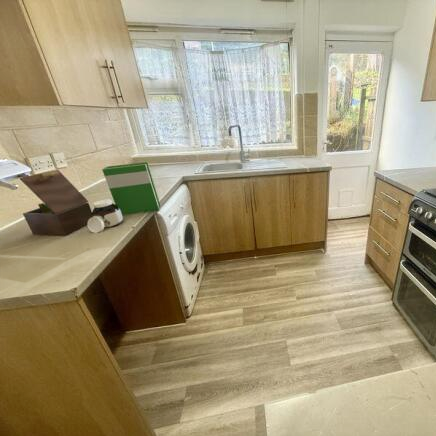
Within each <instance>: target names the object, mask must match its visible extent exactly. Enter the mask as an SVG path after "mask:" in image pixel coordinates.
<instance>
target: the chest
mask: <svg viewBox="0 0 436 436" xmlns="http://www.w3.org/2000/svg"><path fill="white" fill-rule="evenodd" d="M92 212H93V210H92V208H91V206H90V204H89V202H87V203H84V204H82V205H79V206H76V207H74V208H71V209H68V210H66V211H63V212H60V213H58V214H43V213H42V211H41V209H40V207H38V208H35V209H32V210H29V211H26V212H23V213H22V215H23V217H24V220H25V221H26V223H27V225H28V227H29V230H30V231H31V233H32V235H38V236H56V237H57V236H58V237H67V236H69V235H71V234H73V233H75V232H77V231H80V230H81V229H84V228H85V227H88V226H87V223H88V220H89V219H90V218H92V217H93V216H92Z"/></svg>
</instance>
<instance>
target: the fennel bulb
mask: <svg viewBox="0 0 436 436" xmlns="http://www.w3.org/2000/svg"><path fill="white" fill-rule="evenodd" d="M37 206H38V208H40V209H41V211H42V213H43V214H55V213H54V212H53V211H52V210H51V209H50V208H49V207H48V206H47V205H46V204H45V203H44V202H41V203H38V204H37Z"/></svg>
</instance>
